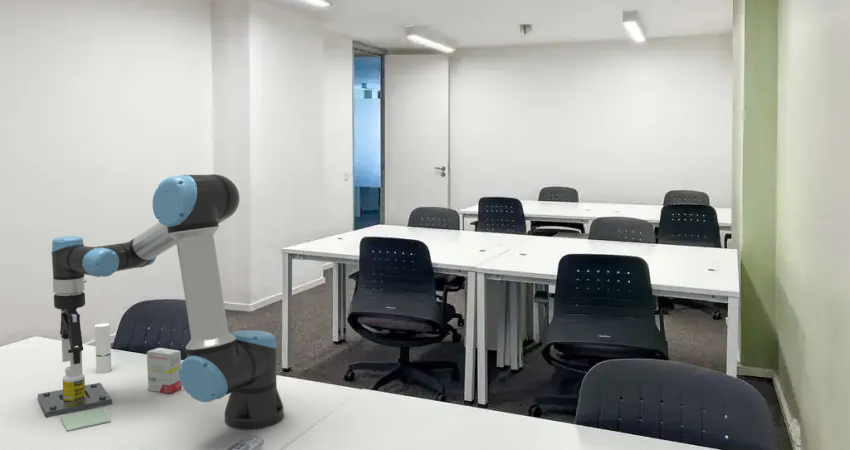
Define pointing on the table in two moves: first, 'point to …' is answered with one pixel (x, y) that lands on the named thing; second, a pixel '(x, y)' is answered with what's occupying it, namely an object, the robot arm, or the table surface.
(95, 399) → the grey mounting plate
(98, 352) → the tube
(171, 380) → the ink box
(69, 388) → the supplement bottle
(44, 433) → the table surface
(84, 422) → the mat
